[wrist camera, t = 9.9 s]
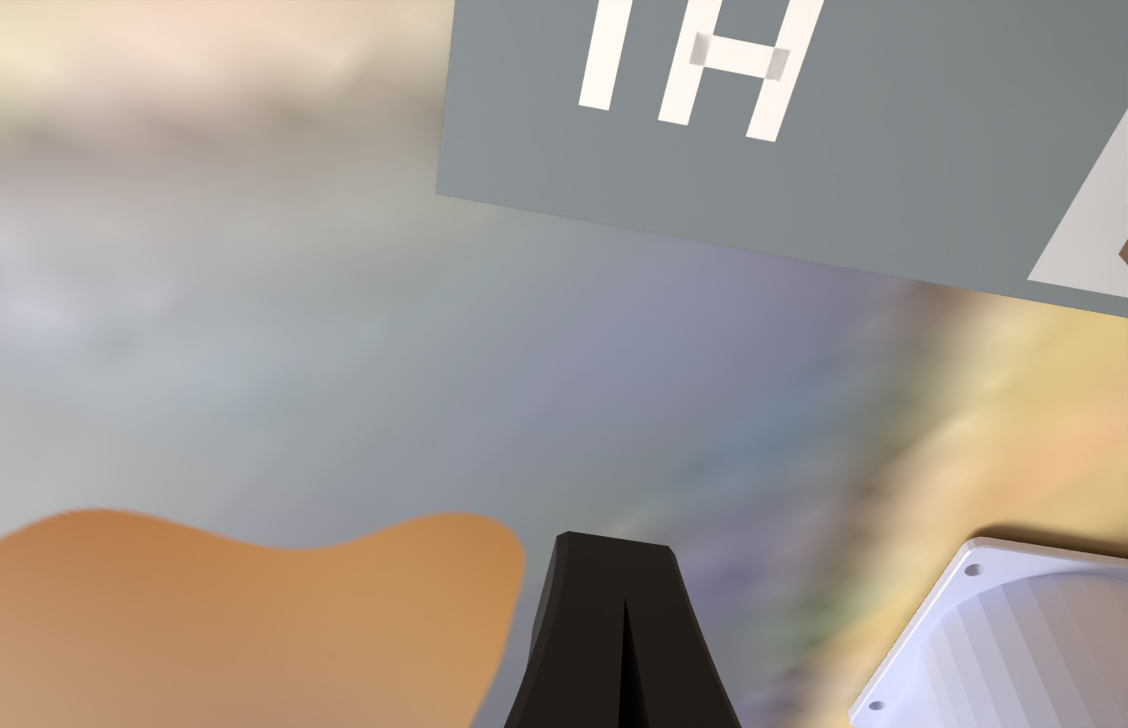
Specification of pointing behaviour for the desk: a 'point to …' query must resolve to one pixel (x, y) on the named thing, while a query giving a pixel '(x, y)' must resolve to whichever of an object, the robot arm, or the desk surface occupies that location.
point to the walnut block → (1124, 252)
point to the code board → (813, 131)
